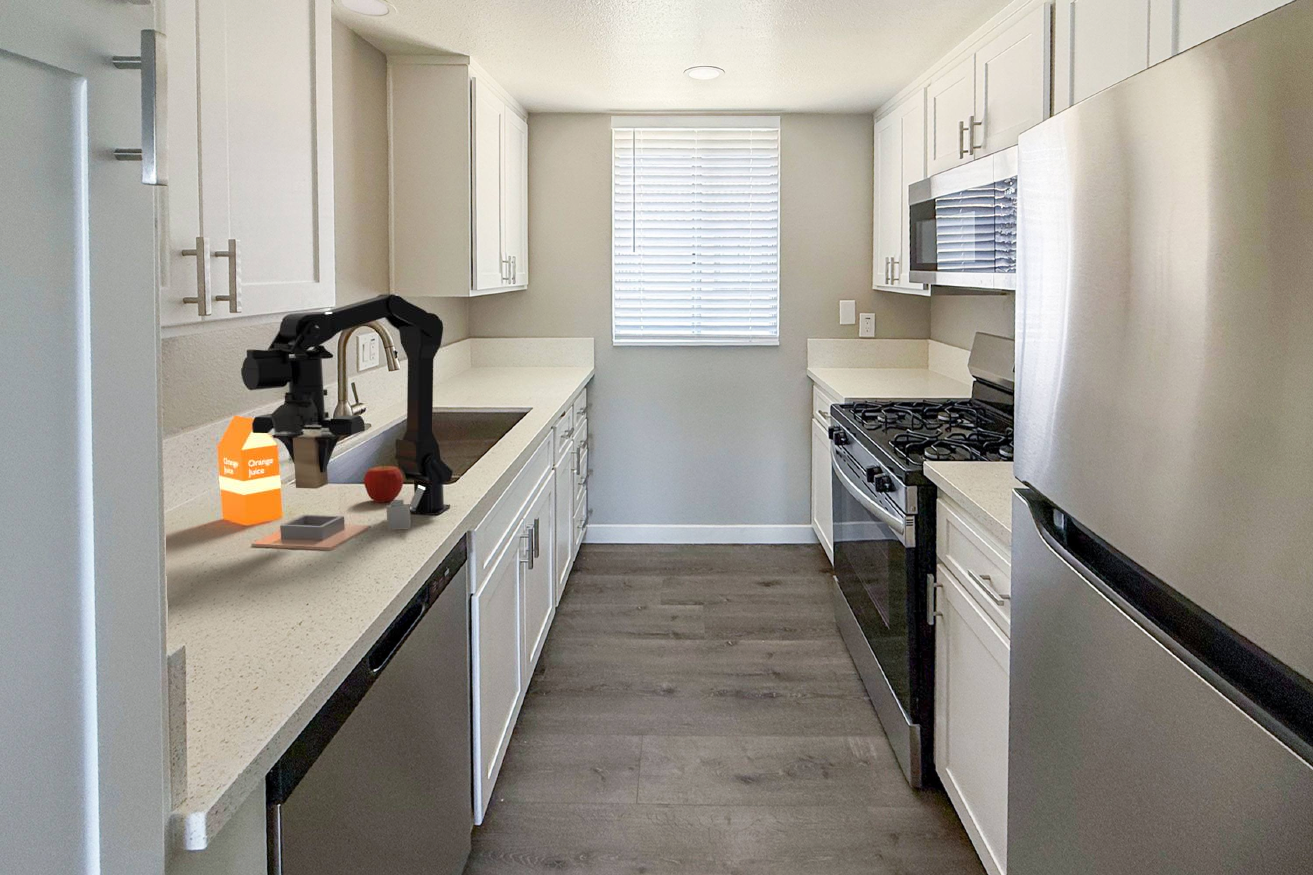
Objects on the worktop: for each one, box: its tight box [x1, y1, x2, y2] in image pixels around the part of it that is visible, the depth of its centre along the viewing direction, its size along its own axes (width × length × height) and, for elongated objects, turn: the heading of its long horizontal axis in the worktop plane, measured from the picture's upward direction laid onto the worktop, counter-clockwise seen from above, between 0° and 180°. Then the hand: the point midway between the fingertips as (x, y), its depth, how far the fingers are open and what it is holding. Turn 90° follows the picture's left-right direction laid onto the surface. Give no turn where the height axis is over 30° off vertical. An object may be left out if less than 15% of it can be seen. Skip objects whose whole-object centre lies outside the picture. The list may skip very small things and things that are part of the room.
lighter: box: [385, 485, 425, 530], centre depth 176 cm, size 7×2×8 cm, turn 99°
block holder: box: [251, 514, 372, 551], centre depth 170 cm, size 15×15×3 cm
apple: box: [363, 464, 404, 503], centre depth 198 cm, size 8×8×8 cm
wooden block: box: [293, 434, 329, 490], centre depth 168 cm, size 4×4×9 cm
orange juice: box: [216, 415, 283, 526], centre depth 183 cm, size 8×9×20 cm
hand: (311, 471), depth 168 cm, fingers closed on wooden block, 4 cm apart
